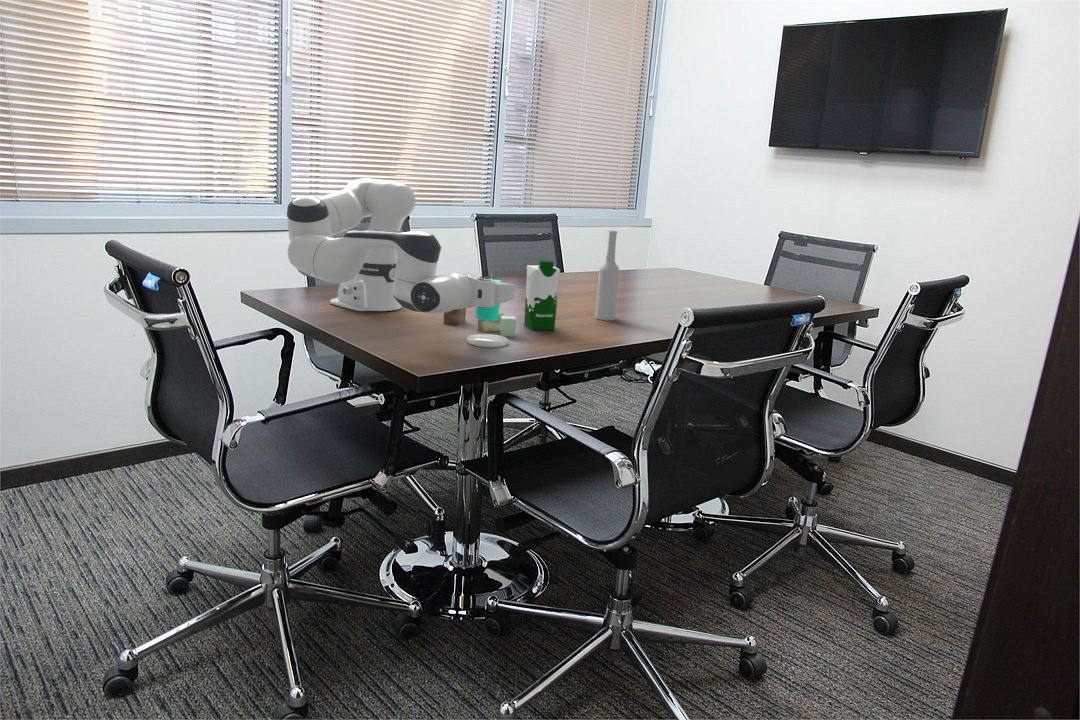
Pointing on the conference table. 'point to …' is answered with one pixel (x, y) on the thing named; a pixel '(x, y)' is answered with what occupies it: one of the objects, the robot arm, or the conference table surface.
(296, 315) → the conference table surface
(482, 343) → the coaster
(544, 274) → the milk carton
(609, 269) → the bottle
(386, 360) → the conference table surface
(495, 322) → the maple block
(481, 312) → the candle
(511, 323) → the sage block
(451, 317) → the walnut block
